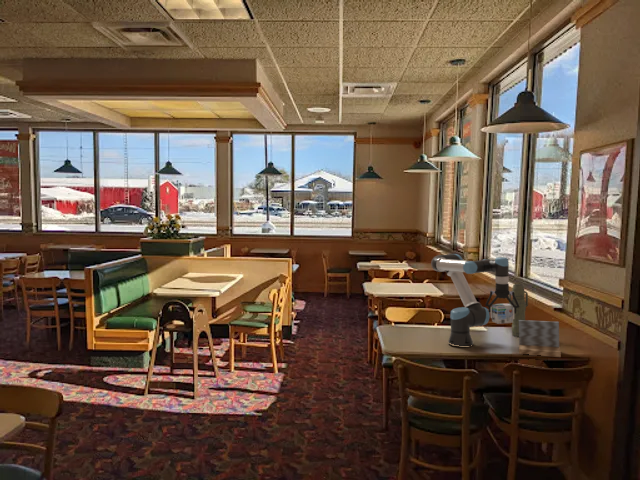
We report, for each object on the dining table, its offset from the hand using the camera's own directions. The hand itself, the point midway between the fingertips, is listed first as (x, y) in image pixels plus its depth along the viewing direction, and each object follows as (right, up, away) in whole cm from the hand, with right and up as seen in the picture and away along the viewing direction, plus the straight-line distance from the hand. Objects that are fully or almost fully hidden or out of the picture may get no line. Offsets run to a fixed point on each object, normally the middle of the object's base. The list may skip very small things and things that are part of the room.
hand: (502, 318), depth 291 cm
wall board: (+20, -20, -6) cm, 28 cm away
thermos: (+24, -17, +33) cm, 45 cm away
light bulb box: (0, -3, 0) cm, 3 cm away
